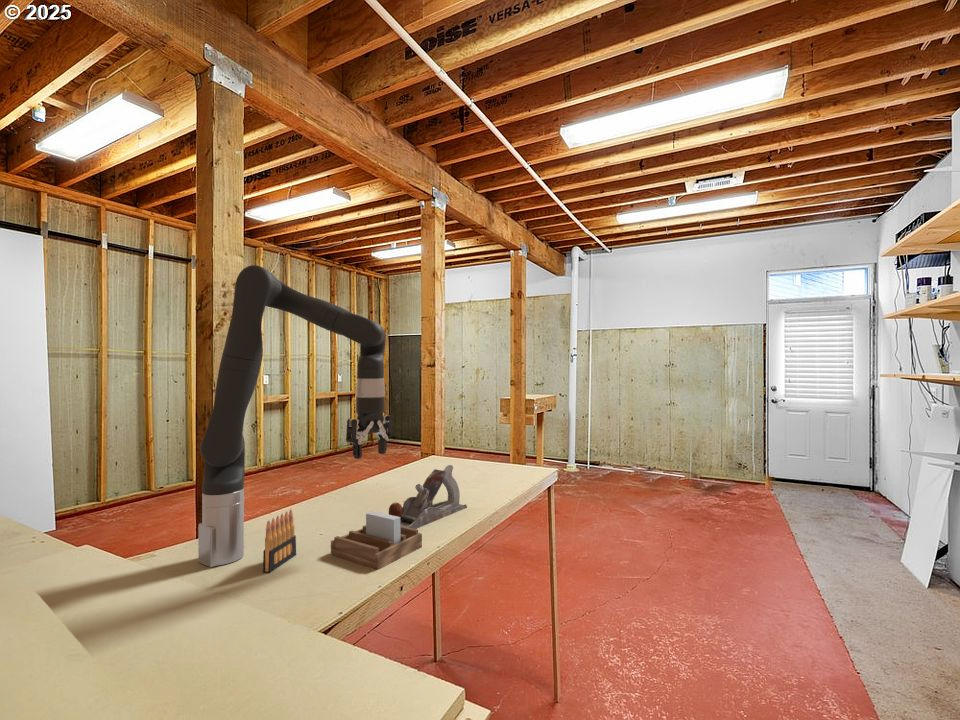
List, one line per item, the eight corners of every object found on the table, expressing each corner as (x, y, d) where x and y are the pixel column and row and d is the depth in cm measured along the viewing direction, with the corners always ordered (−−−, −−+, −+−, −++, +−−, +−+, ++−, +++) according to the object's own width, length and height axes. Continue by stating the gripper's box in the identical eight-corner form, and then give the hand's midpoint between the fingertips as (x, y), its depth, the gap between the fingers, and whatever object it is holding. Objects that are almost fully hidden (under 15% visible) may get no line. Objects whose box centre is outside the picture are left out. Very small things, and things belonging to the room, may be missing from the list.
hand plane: (376, 531, 134) (375, 480, 134) (448, 503, 161) (448, 461, 161) (397, 537, 129) (396, 484, 129) (468, 508, 156) (468, 464, 156)
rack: (378, 569, 107) (377, 550, 107) (330, 554, 117) (330, 536, 117) (421, 546, 121) (421, 530, 121) (376, 535, 130) (376, 519, 130)
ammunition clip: (269, 573, 106) (269, 521, 107) (262, 572, 107) (262, 521, 107) (296, 554, 117) (296, 508, 117) (290, 554, 117) (289, 507, 117)
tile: (394, 551, 114) (393, 519, 114) (366, 543, 120) (366, 513, 120) (400, 548, 116) (400, 517, 116) (372, 540, 122) (372, 511, 122)
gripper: (359, 397, 113) (359, 462, 113) (399, 394, 125) (399, 453, 125) (339, 396, 118) (339, 458, 117) (380, 394, 129) (380, 450, 129)
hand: (370, 456), depth 121 cm, fingers open, 8 cm apart
